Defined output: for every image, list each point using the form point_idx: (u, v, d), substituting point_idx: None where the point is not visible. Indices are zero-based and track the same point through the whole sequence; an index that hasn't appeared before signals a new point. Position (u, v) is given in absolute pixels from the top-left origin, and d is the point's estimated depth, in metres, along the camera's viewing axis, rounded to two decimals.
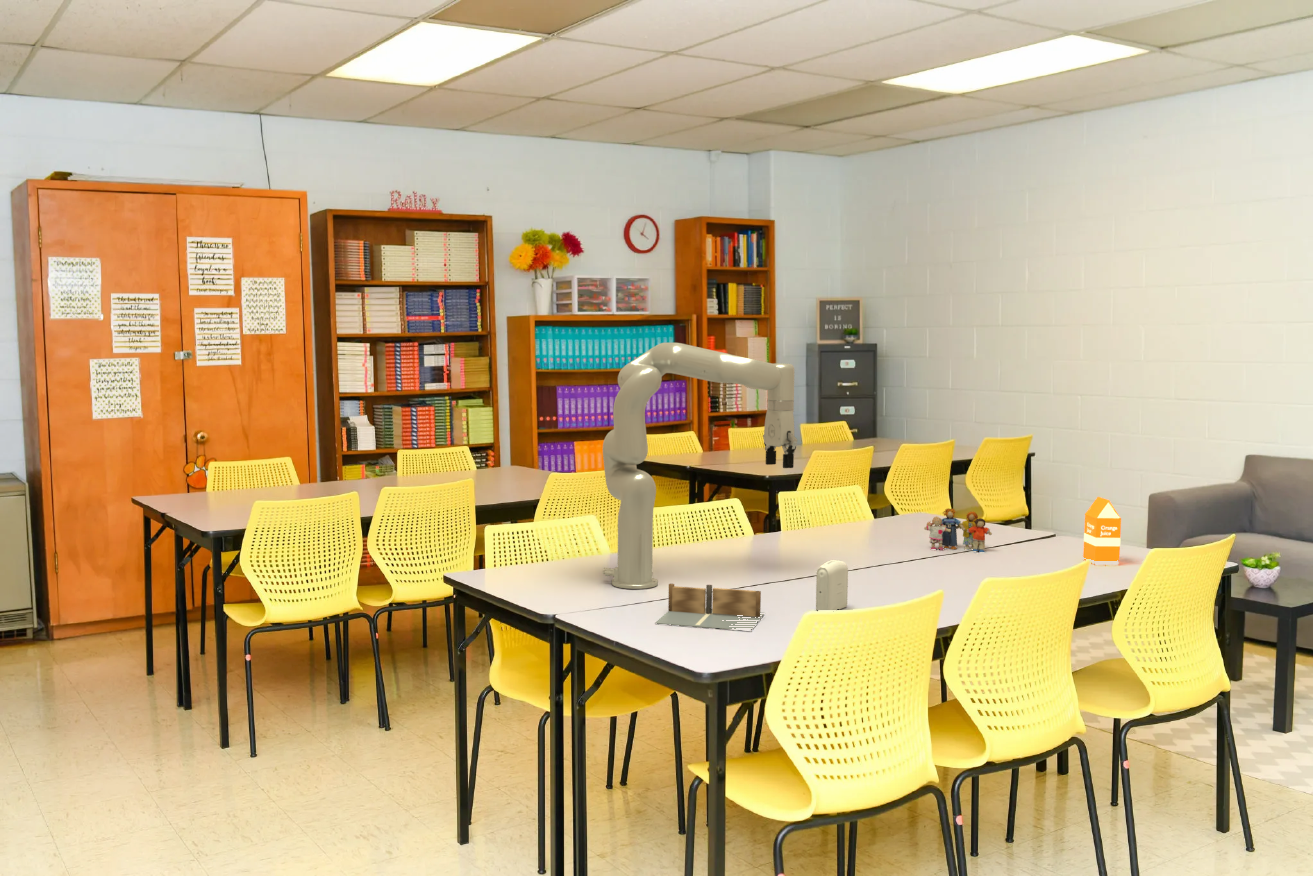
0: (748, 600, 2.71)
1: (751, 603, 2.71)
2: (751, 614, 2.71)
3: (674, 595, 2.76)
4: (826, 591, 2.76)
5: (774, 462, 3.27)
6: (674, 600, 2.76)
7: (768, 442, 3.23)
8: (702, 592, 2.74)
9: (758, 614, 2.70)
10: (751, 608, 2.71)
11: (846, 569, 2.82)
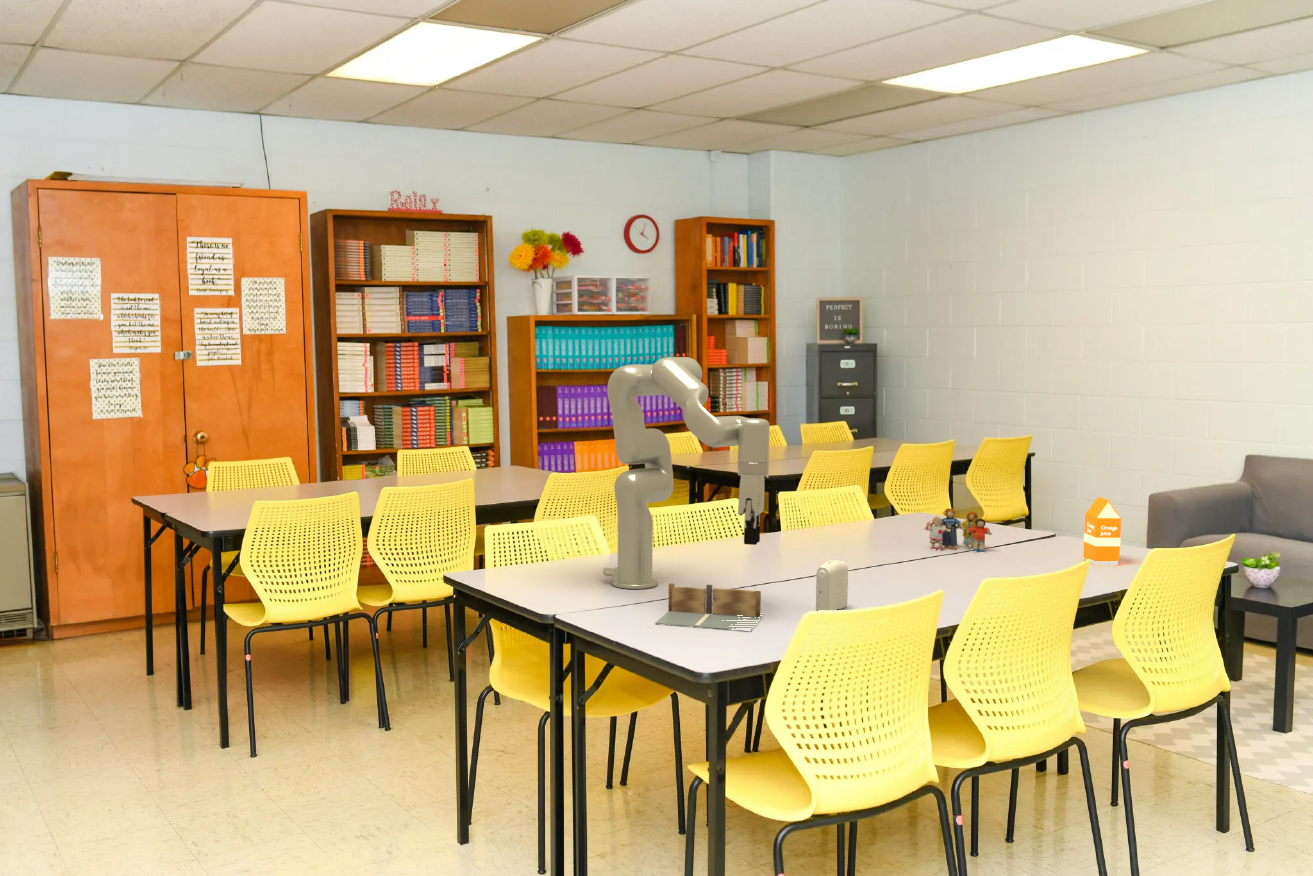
0: (748, 600, 2.71)
1: (751, 603, 2.71)
2: (751, 614, 2.71)
3: (674, 595, 2.76)
4: (826, 591, 2.76)
5: (756, 540, 2.78)
6: (674, 600, 2.76)
7: None
8: (702, 592, 2.74)
9: (758, 614, 2.70)
10: (751, 608, 2.71)
11: (846, 569, 2.82)
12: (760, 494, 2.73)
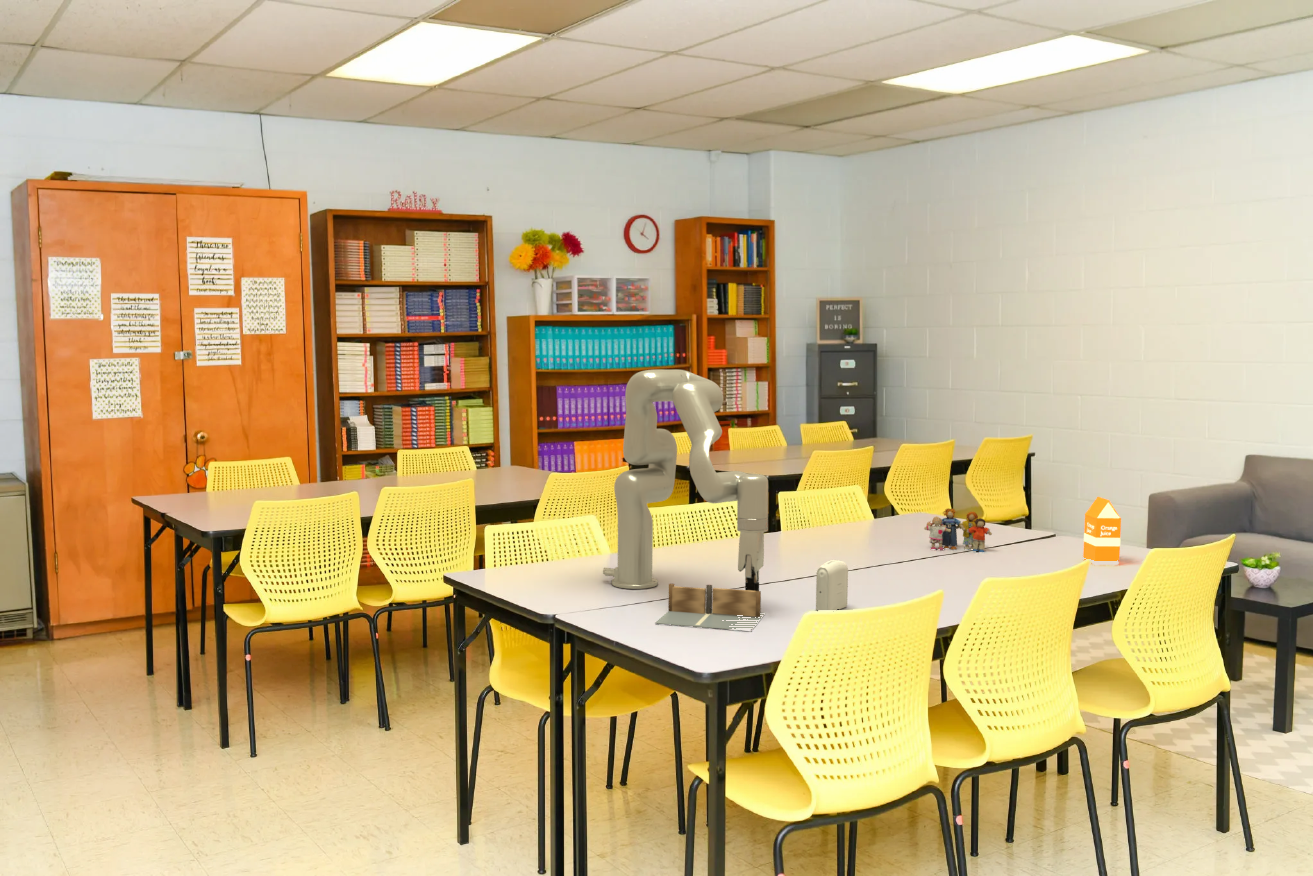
0: (748, 600, 2.71)
1: (751, 603, 2.71)
2: (751, 614, 2.71)
3: (674, 595, 2.76)
4: (826, 591, 2.76)
5: None
6: (674, 600, 2.76)
7: None
8: (702, 592, 2.74)
9: (758, 614, 2.70)
10: (751, 608, 2.71)
11: (846, 569, 2.82)
12: (760, 550, 2.74)
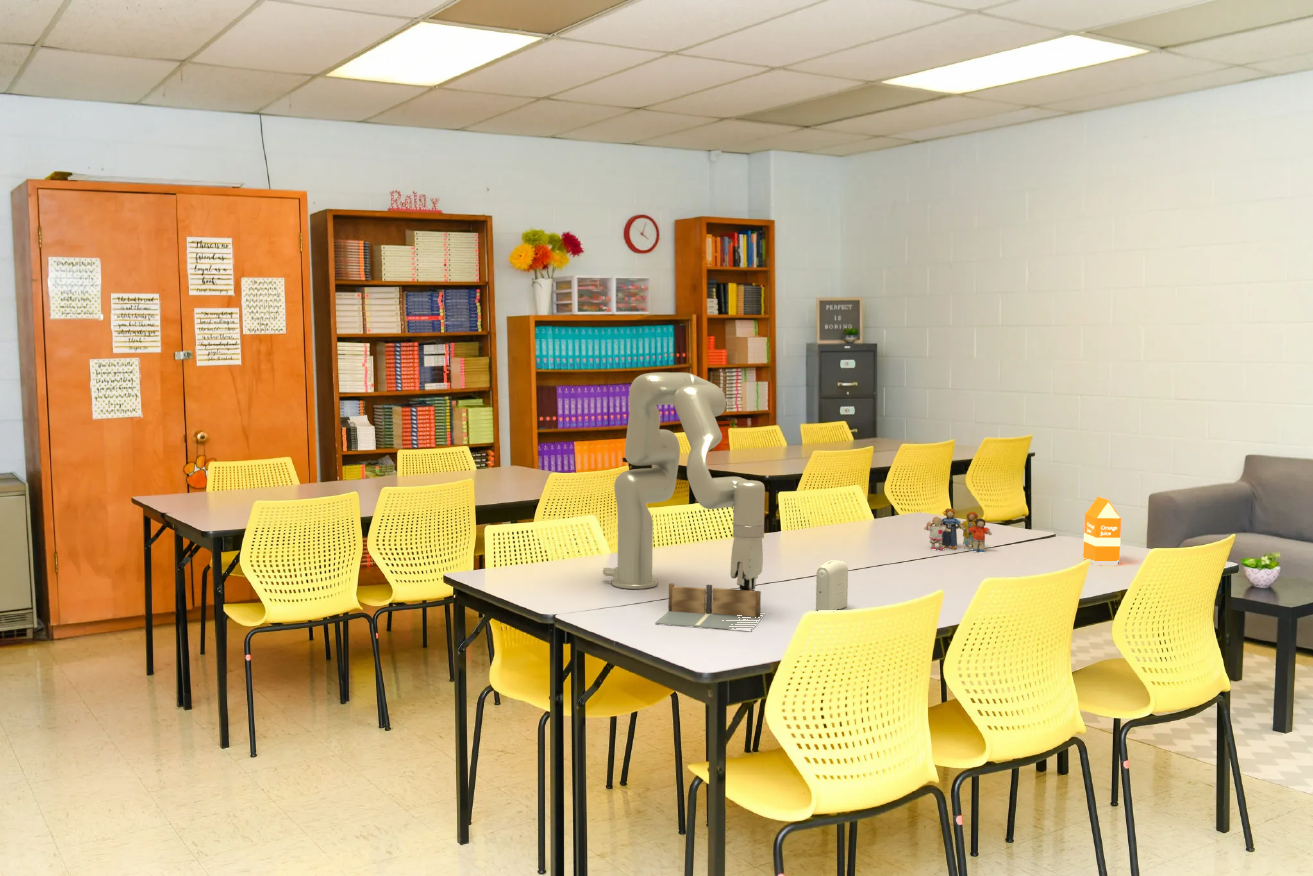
0: (748, 600, 2.71)
1: (751, 603, 2.70)
2: (751, 614, 2.71)
3: (674, 595, 2.76)
4: (826, 591, 2.76)
5: None
6: (674, 600, 2.76)
7: None
8: (702, 592, 2.74)
9: (758, 614, 2.70)
10: (751, 608, 2.71)
11: (846, 569, 2.82)
12: (753, 558, 2.71)
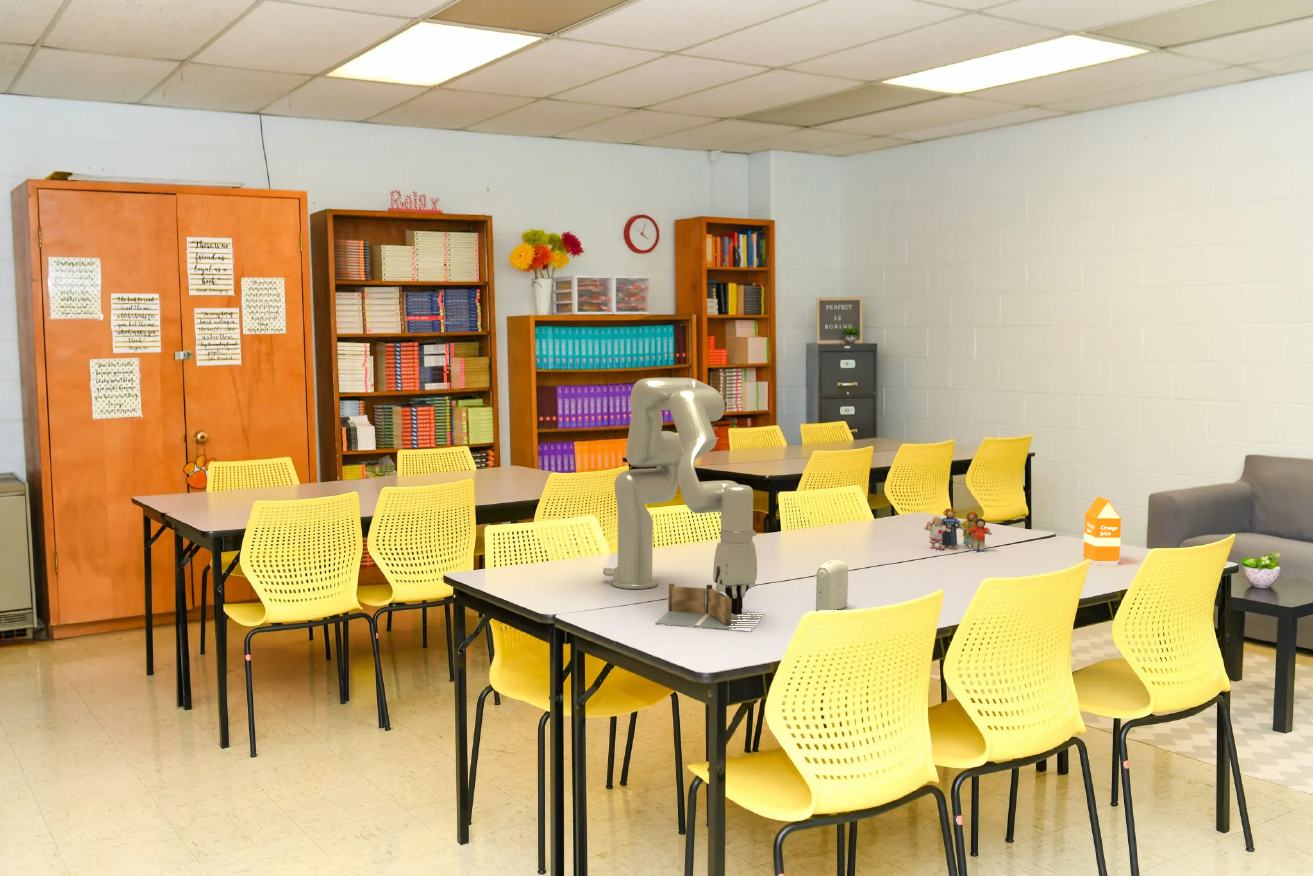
0: (722, 606, 2.64)
1: (723, 609, 2.64)
2: (723, 621, 2.64)
3: (674, 595, 2.76)
4: (826, 591, 2.76)
5: None
6: (674, 600, 2.76)
7: None
8: (702, 592, 2.74)
9: (726, 622, 2.62)
10: (723, 614, 2.64)
11: (846, 569, 2.82)
12: (733, 564, 2.63)
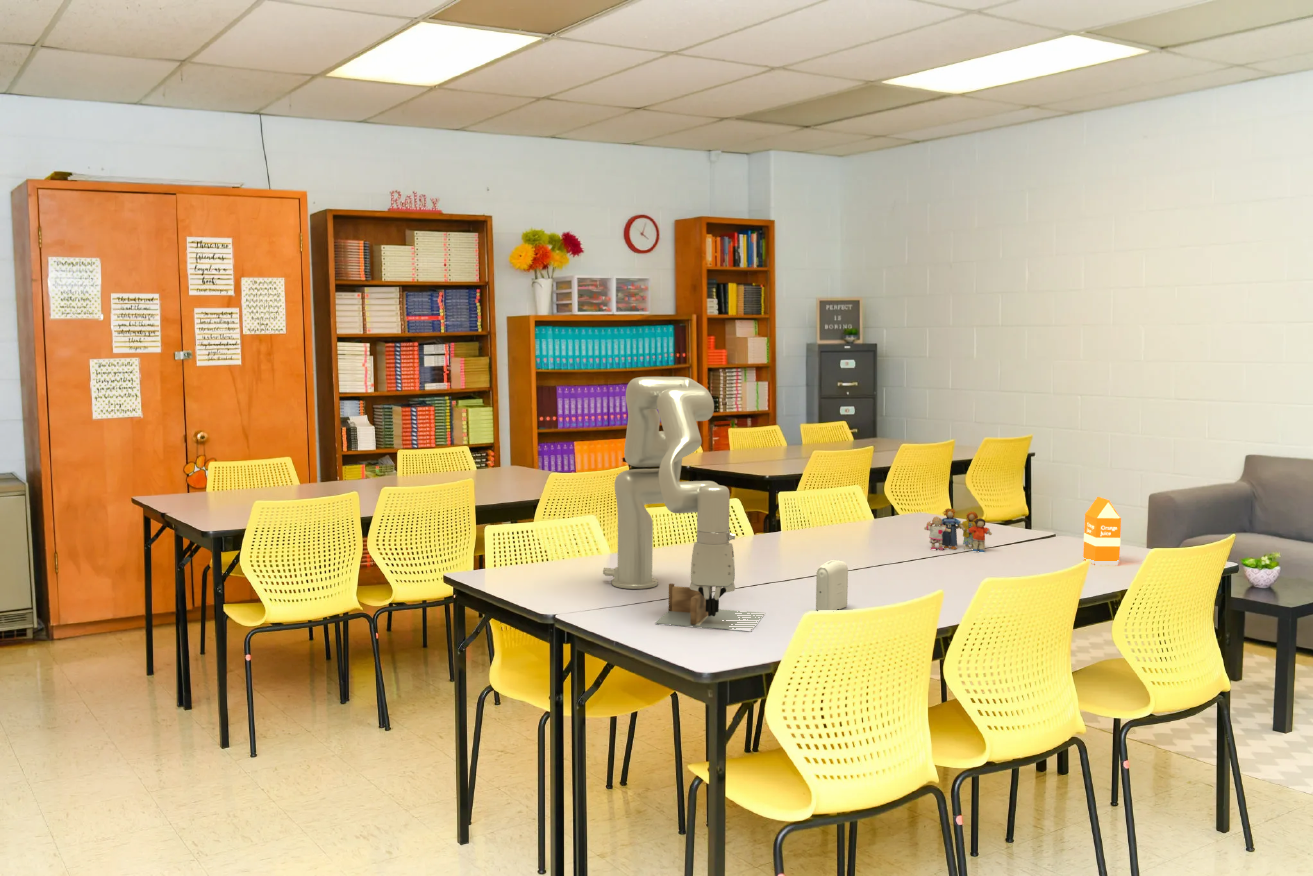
0: None
1: None
2: None
3: (674, 595, 2.76)
4: (826, 591, 2.76)
5: (712, 613, 2.64)
6: (674, 600, 2.76)
7: None
8: None
9: (690, 621, 2.63)
10: None
11: (846, 569, 2.82)
12: (701, 564, 2.62)
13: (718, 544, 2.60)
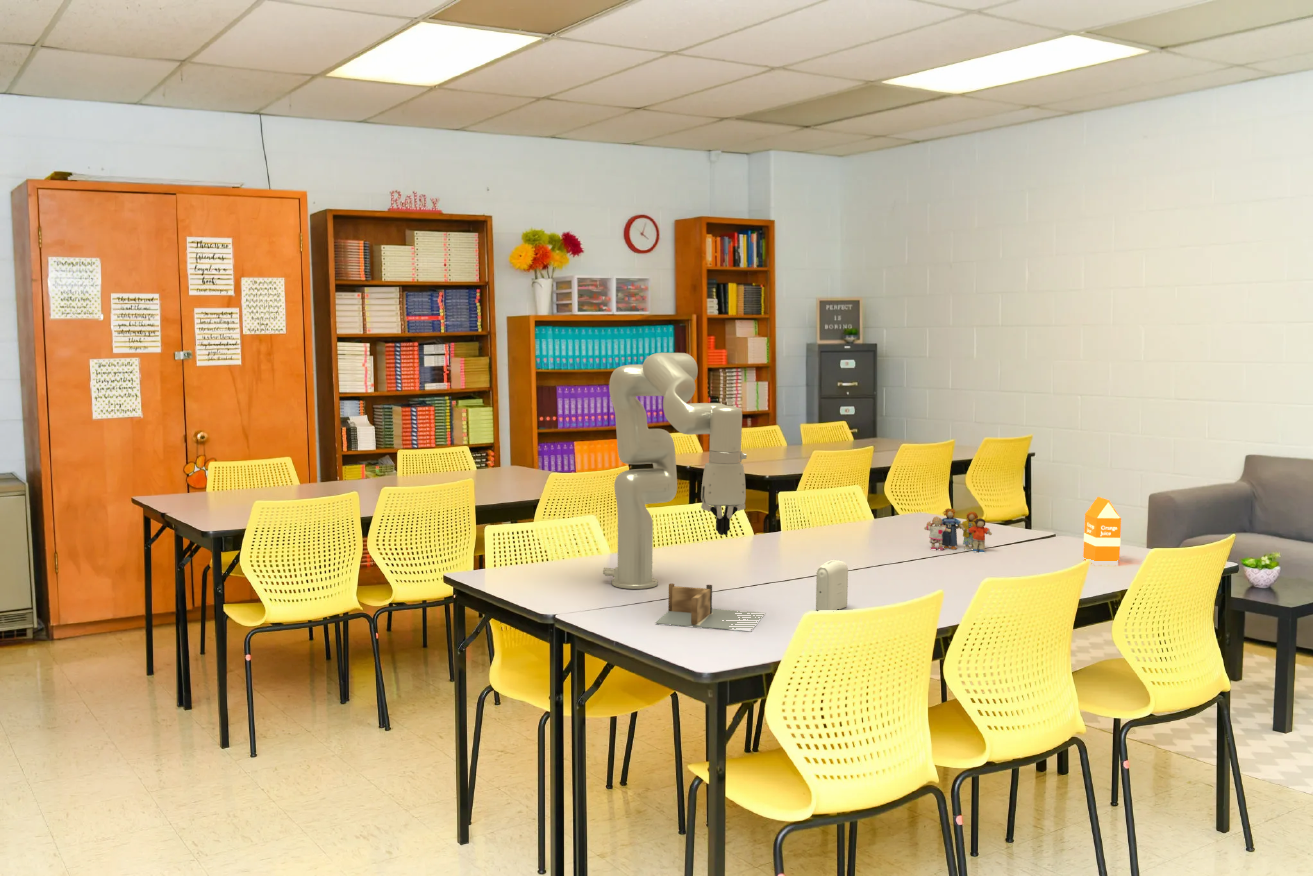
0: None
1: None
2: None
3: (674, 595, 2.76)
4: (826, 591, 2.76)
5: (724, 532, 2.69)
6: (674, 600, 2.76)
7: None
8: None
9: (691, 621, 2.63)
10: None
11: (846, 569, 2.82)
12: (717, 484, 2.66)
13: (735, 463, 2.65)
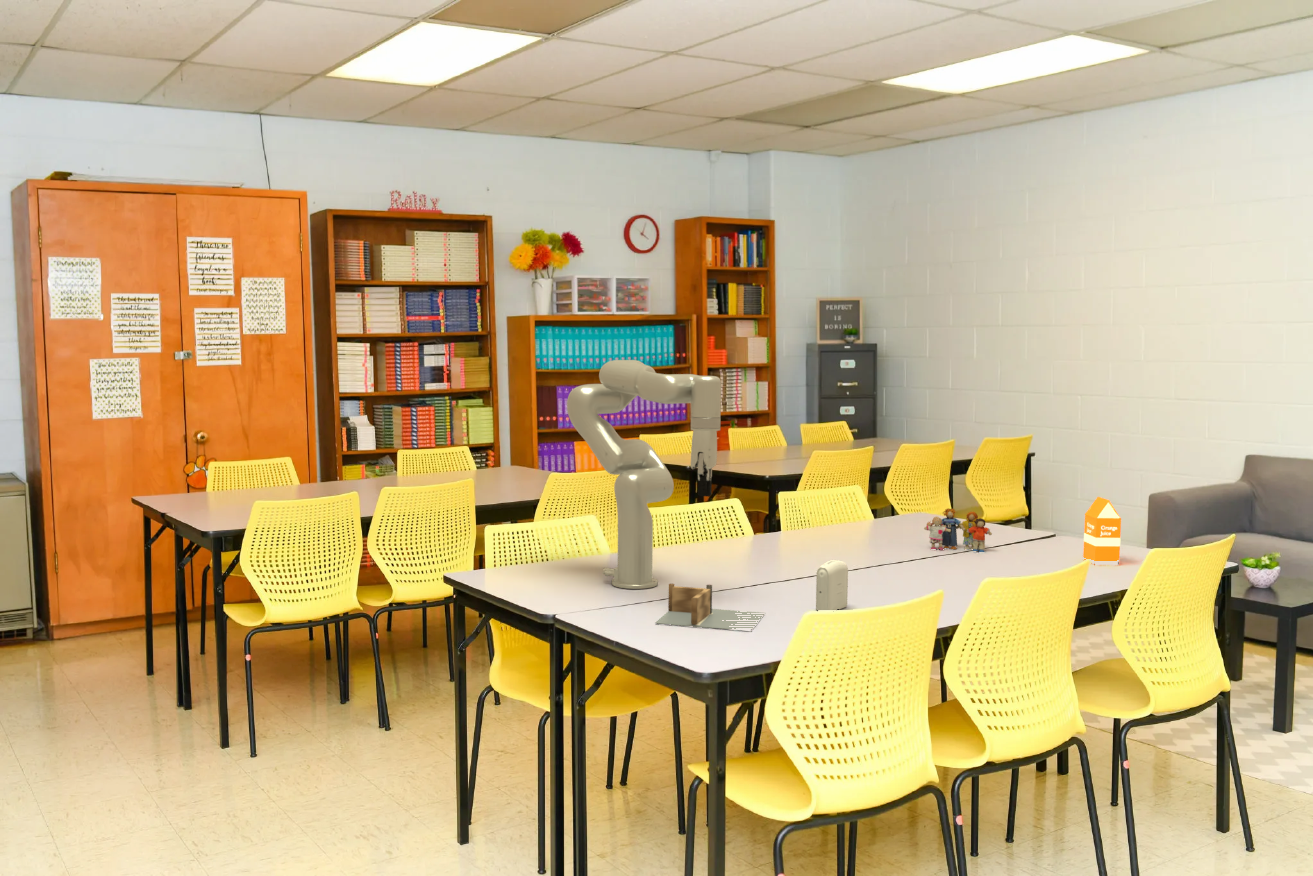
0: None
1: None
2: None
3: (674, 595, 2.76)
4: (826, 591, 2.76)
5: None
6: (674, 600, 2.76)
7: None
8: None
9: (691, 621, 2.63)
10: None
11: (846, 569, 2.82)
12: (712, 448, 2.84)
13: None
